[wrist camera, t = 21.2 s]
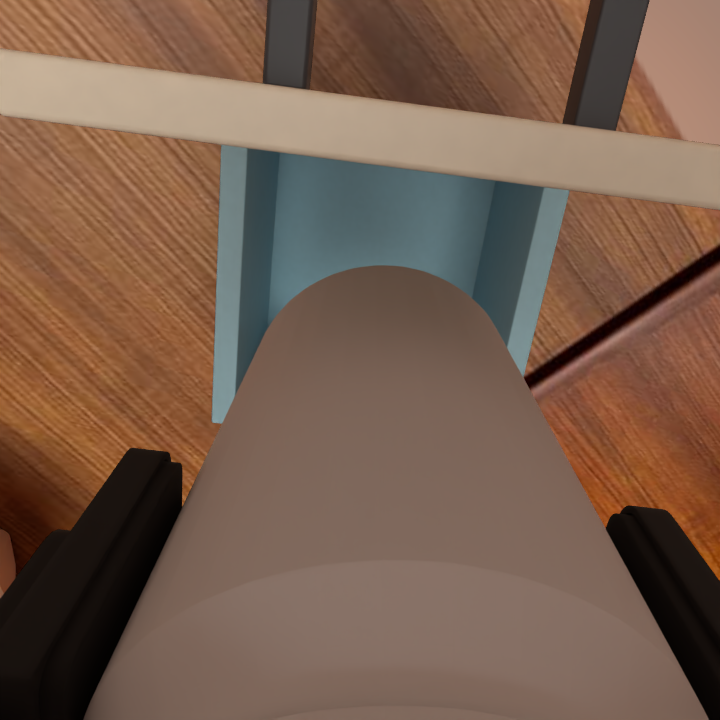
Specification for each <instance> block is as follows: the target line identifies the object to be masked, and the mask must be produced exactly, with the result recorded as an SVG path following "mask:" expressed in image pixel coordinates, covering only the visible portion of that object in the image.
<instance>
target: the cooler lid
mask: <svg viewBox="0 0 720 720" xmlns="http://www.w3.org/2000/svg"><path fill="white" fill-rule="evenodd" d="M648 4H649V0H591V1H590V5H589V9H588V14H587V18H586V23H585V27H584V31H583V36H582V40H581V44H580V49H579V53H578V57H577V62H576V66H575V71H574V75H573V79H572V84H571V88H570V92H569V97H568V101H567V105H566V110H565V114H564V118H563V123H562V124H560V123H553V122H545V121H538V120H530V119H523V118H516V117H508V116H501V115H493V114H486V113H478V112H471V111H463V110H456V109H449V108H441V107H434V106H426V105H419V104H411V103H404V102H397V101H389V100H382V99H374V98H367V97H359V96H352V95H345V94H337V93H330V92H322V91H315V90H309V89H310V81H311V69H312V57H313V46H314V34H315V23H316V11H317V0H268V3H267V20H266V37H265V53H264V70H263V83H255V82H248V81H240V80H233V79H226V78H218V77H211V76H203V75H196V74H188V73H181V72H174V71H166V70H159V69H151V68H144V67H136V66H129V65H122V64H114V63H107V62H99V61H92V60H84V59H77V58H69V57H62V56H55V55H47V54H40V53H32V52H25V51H17V50H10V49H3V48H0V114H1V115H3V116H6V117H14V118H21V119H29V120H36V121H44V122H52V123H59V124H67V125H75V126H82V127H90V128H97V129H105V130H113V131H120V132H128V133H136V134H143V135H151V136H158V137H166V138H174V139H181V140H189V141H197V142H204V143H212V144H219V145H227V146H235V147H242V148H250V149H258V150H265V151H273V152H280V153H288V154H296V155H303V156H311V157H319V158H326V159H334V160H341V161H349V162H357V163H364V164H372V165H380V166H387V167H395V168H402V169H410V170H418V171H425V172H433V173H441V174H448V175H456V176H463V177H471V178H479V179H486V180H494V181H502V182H509V183H517V184H524V185H532V186H540V187H547V188H555V189H563V190H570V191H578V192H585V193H593V194H601V195H608V196H616V197H624V198H631V199H639V200H646V201H654V202H662V203H669V204H677V205H685V206H692V207H700V208H707V209H715V210H720V145H716V144H709V143H701V142H694V141H687V140H679V139H672V138H664V137H657V136H649V135H642V134H634V133H627V132H620V131H616V127H617V123H618V119H619V115H620V112H621V108H622V104H623V100H624V96H625V92H626V89H627V85H628V81H629V77H630V73H631V69H632V66H633V62H634V58H635V54H636V50H637V46H638V42H639V39H640V35H641V31H642V27H643V23H644V19H645V16H646V12H647V8H648Z"/></svg>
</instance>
